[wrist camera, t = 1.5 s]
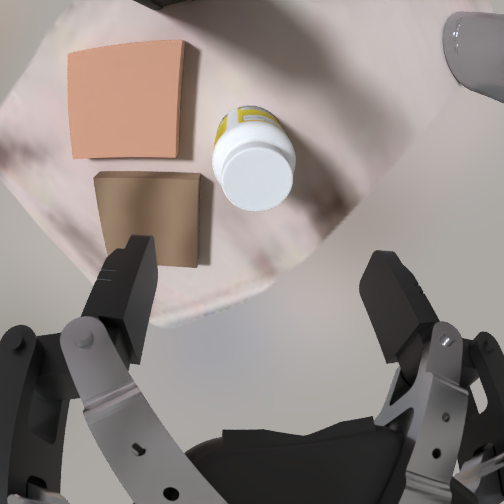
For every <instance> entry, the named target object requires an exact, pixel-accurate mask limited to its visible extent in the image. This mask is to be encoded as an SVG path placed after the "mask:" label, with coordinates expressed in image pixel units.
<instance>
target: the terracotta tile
mask: <svg viewBox="0 0 504 504" xmlns="http://www.w3.org/2000/svg"><path fill="white" fill-rule="evenodd" d="M184 50H185V41H184V40H163V41H147V42H136V43H126V44H118V45H111V46H105V47H99V48H93V49H88V50H83V51H78V52H73V53H69V54H68V110H69V125H70V136H71V146H72V154H73V159H84V158H110V157H170V158H176V156H177V154H178V152H179V126H180V104H181V87H182V73H183V61H184Z"/></svg>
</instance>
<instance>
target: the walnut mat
mask: <svg viewBox="0 0 504 504" xmlns="http://www.w3.org/2000/svg"><path fill="white" fill-rule="evenodd" d="M93 179H94V186H95V192H96V199H97V205H98V210H99V216H100V221H101V226H102V231H103V236H104V240H105V245H106V249H107V254H108V256H109V255H110V254H111V253H112V252H113V251H114V250H115V249H116V248H121V249H125V247H126V245H127V242H128V240H129V238H130V236H131V235H132V234H136V235H153V237H154V242H155V251H156V260H157V265H162V266H177V267H191V268H197V265H198V244H199V193H200V173H180V172H142V171H108V172H99V173H98V174H97V175H96V176H95V177H94V178H93Z"/></svg>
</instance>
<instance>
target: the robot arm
mask: <svg viewBox="0 0 504 504" xmlns="http://www.w3.org/2000/svg"><path fill="white" fill-rule="evenodd" d="M443 46H444V52H445V56H446V60H447V62H448V65H449V67H450V69H451V71H452V73H453V74H454V76H455V77H456V78H457V80H458V81H459V82H460V83H461V84H462V85H463V86H464V87H466V88H468V89H469V90H471V91H474V92H477V93H480V94H482V95H485V96H488V97H490V98H493V99H495V100H497V101H500V102H502V103H504V14H494V13H482V12H457V13H455V14H453V15H452V16H451V17H450V18H449V19H448V20H447V22H446V24H445V27H444V31H443ZM157 281H158V268H157V260H156V251H155V242H154V237H153V235H136V234H132V235H131V236H130V238H129V240H128V242H127V245H126V247H125V249H121V248H116V249H115V250H114V251H113V252H112V253H111V254H110V255H109V256H108V257H107V258H106V260H105V262H104V264H103V266H102V268H101V271H100V273H99V275H98V277H97V280H96V282H95V284H94V286H93V289H92V291H91V293H90V296H89V298H88V300H87V303H86V305H85V308H84V310H83V312H82V315H81V317H79V318H76V319H74V320H72V321H71V322H69V323H68V324H67V325H66V326H65V327H64V329H63V331H62V332H61V333H57V334H50V335H42V336H36V335H35V333H34V332H33V330H32V329H31V328H30V327H28V326H25V325H17V326H14V327H12V328H10V329H9V330H8V331H7V332H6V333H5V334H4V335H3V337H2V339H1V341H0V504H70V503H69V502H68V501H67V500H66V499H65V498H64V497H63V496H62V495H60V482H61V481H60V480H61V465H62V453H63V443H64V435H65V427H66V420H67V414H68V408H69V402H70V399H75V398H81V400H82V402H83V405H84V408H85V409H84V411H83V414H84V417H85V420H86V422H87V424H88V426H89V428H90V430H91V432H92V434H93V436H94V438H95V440H96V442H97V444H98V446H99V447H100V449H101V451H102V453H103V455H104V456H105V458H106V460H107V462H108V463H109V465H110V467H111V468H112V470H113V472H114V473H115V475H116V476H117V478H118V479H119V481H120V482H121V484H122V485H123V487H124V488H125V490H126V491H127V493H128V494H129V496H130V497H131V499H132V500H133V501H134V503H133V504H500V503H501V502H502V501H504V355H503V353H502V351H501V348H500V346H499V345H498V342H497V341H496V339H495V338H494V337H493V336H492V335H491V334H489V333H487V332H480V333H479V334H478V335H477V336H476V337H475V338H474V340H469V339H464V338H462V337H461V335H460V333H459V332H458V330H457V329H456V328H455V327H454V326H452V325H451V324H449V323H447V322H443V321H442V322H440V321H439V319H438V317H437V315H436V313H435V312H434V310H433V308H432V306H431V304H430V302H429V301H428V299H427V297H426V296H425V294H423V291H422V289H421V287H420V286H418V282H417V280H416V279H415V277H414V275H413V274H412V273H411V272H410V271H409V270H408V269H407V268H406V267H405V266H404V265H403V264H402V263H401V261H400V259H399V258H398V256H397V255H396V253H395V252H393V251H379V250H376V251H375V252H374V253H373V254H372V256H371V258H370V261H369V263H368V265H367V268H366V269H365V272H364V274H363V276H362V278H361V280H360V285H359V292H360V296H361V298H362V301H363V303H364V305H365V308H366V310H367V313H368V315H369V318H370V320H371V323H372V325H373V328H374V331H375V333H376V335H377V338H378V341H379V344H380V346H381V349H382V352H383V354H384V357H385V360H386V363H387V364H388V363H394V362H399V365H400V366H399V367H398V368H397V370H396V372H395V375H394V378H393V381H392V384H391V387H390V389H389V392H388V395H387V398H386V401H385V403H384V406H383V408H382V410H381V412H380V414H379V415H378V416H377V417H376V419H375V420H373V416H371V417H366V418H361V419H355V420H350V421H343V422H339V423H337V424H335V425H333V426H330V427H327V428H325V429H323V430H320V431H317V432H315V433H312V434H310V435H305V436H301V435H293V434H287V433H281V432H275V431H270V430H264V429H260V430H259V429H258V430H223V431H222V437H219V438H215V439H211V440H208V441H205V442H203V443H200V444H198V445H196V446H194V447H193V448H191V449H190V450H188V451H186V452H185V453H183V451H182V450H181V449H180V447H179V446H178V445H177V444H176V442H175V441H174V439H173V438H172V437H171V435H170V434H169V433H168V431H167V430H166V429H165V427H164V426H163V424H162V423H161V421H160V420H159V418H158V417H157V415H156V414H155V412H154V411H153V410H152V408H151V407H150V405H149V403H148V402H147V400H146V399H145V397H144V395H143V394H142V392H141V391H140V389H139V388H138V386H137V385H136V384H135V382H134V381H133V379H132V378H131V376H130V374H129V372H128V371H129V366H130V363H131V364H138V365H139V364H140V361H141V356H142V351H143V346H144V341H145V336H146V331H147V326H148V322H149V317H150V313H151V308H152V304H153V300H154V296H155V292H156V287H157ZM479 377H480V380H481V383H482V385H483V388H484V390H485V393H486V396H487V400H488V404H487V407H486V409H485V410H484V412H482V413H481V414H479V413H478V410H477V406H476V403H475V400H474V397H473V394H472V391H471V389H470V385H471V384H472V383H473V382H474V381H476V380H477V379H478V378H479ZM457 459H458V464H459V469H460V473H457V474H456V475H455V476H454V477H453V476H452V475H453V471H454V467H455V464H456V460H457Z"/></svg>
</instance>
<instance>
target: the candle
mask: <svg viewBox="0 0 504 504" xmlns="http://www.w3.org/2000/svg"><path fill="white" fill-rule="evenodd" d="M134 1H136V2H138V3H140V4H142V5H144V6H146V7H148V8H150V9H154V10H158V9H162V8H163V6H166V5H170V4H174V3H177V2H181V1H186V0H134ZM193 1H194V0H193Z"/></svg>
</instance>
